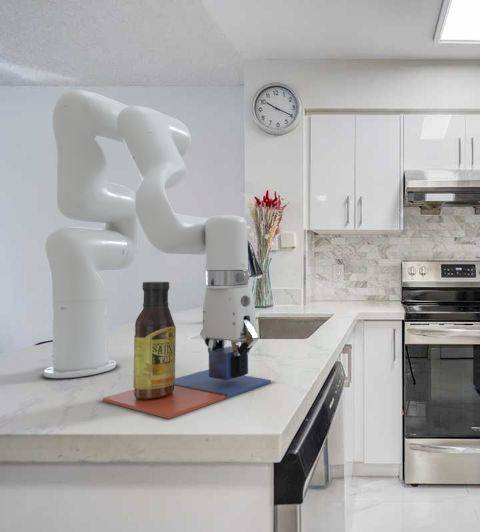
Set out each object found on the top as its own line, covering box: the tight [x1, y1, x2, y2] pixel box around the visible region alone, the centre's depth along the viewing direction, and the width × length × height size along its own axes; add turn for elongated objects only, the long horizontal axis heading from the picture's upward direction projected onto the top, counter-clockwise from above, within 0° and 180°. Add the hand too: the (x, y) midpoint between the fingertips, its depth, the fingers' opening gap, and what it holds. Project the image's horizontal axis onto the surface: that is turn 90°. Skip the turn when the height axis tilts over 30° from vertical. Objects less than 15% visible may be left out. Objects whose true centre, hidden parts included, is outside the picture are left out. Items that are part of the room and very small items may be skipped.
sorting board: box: [102, 369, 272, 420], centre depth 76 cm, size 18×21×1 cm
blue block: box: [208, 345, 249, 380], centre depth 80 cm, size 5×5×5 cm
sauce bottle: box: [132, 281, 177, 399], centre depth 73 cm, size 6×6×20 cm
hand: (228, 373), depth 80 cm, fingers closed on blue block, 5 cm apart
